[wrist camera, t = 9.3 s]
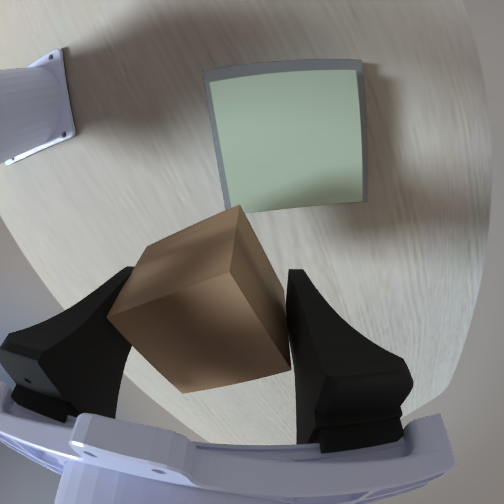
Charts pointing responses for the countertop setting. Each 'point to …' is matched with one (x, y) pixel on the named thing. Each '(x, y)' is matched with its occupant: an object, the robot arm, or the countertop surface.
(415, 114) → the countertop surface
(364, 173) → the tower base
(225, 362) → the walnut block
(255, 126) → the tower top
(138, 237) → the countertop surface
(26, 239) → the countertop surface
